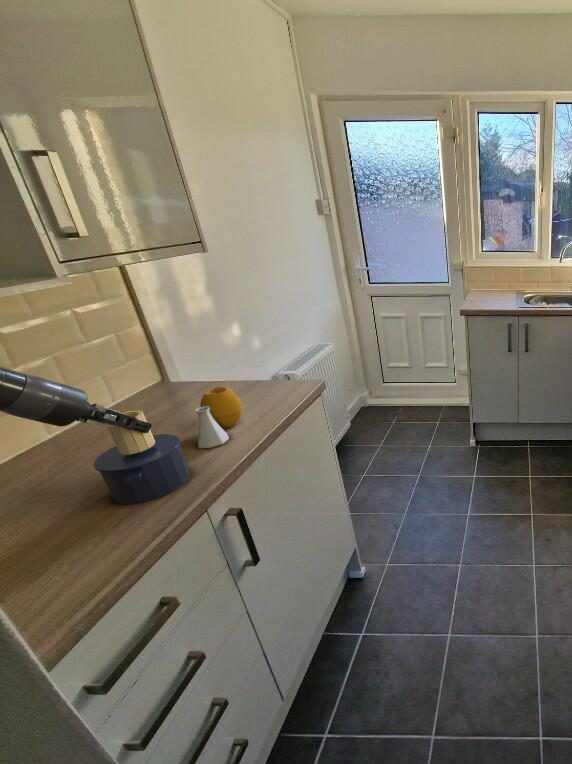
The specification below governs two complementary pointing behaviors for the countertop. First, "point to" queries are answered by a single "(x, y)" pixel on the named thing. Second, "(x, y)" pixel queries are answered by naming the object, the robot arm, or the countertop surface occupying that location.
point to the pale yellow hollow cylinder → (131, 436)
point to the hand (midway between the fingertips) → (138, 426)
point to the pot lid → (137, 455)
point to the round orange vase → (223, 406)
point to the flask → (209, 429)
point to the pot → (148, 479)
